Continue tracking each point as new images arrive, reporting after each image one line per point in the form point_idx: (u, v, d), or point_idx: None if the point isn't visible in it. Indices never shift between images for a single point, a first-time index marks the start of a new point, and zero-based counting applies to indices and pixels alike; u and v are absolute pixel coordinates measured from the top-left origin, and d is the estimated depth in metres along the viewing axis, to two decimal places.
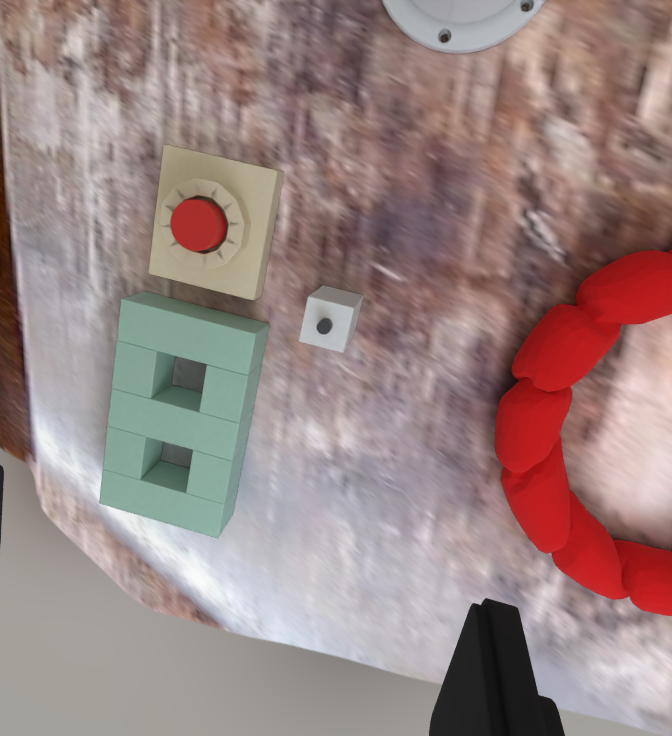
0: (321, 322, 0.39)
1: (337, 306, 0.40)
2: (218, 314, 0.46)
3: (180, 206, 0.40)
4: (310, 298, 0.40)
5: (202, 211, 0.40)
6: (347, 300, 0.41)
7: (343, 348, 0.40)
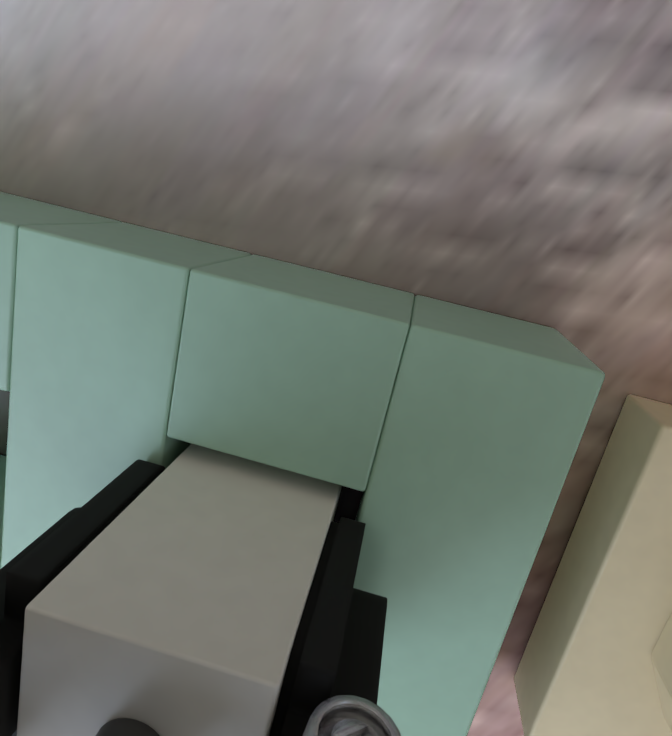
0: None
1: None
2: None
3: None
4: (266, 696, 0.07)
5: None
6: None
7: None
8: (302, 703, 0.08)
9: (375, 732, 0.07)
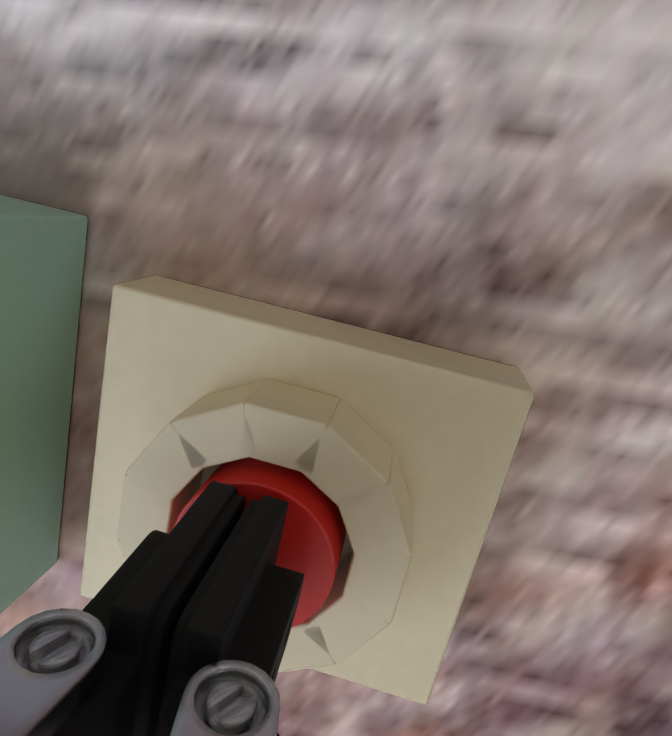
0: None
1: None
2: (40, 469, 0.16)
3: (311, 528, 0.11)
4: None
5: None
6: None
7: None
8: (191, 669, 0.08)
9: (251, 689, 0.07)
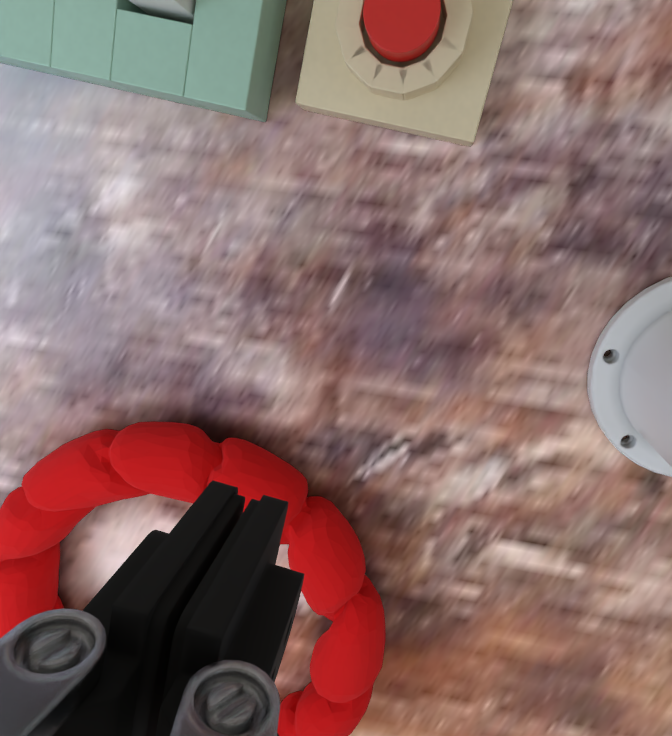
0: None
1: None
2: (273, 40, 0.31)
3: None
4: None
5: (422, 26, 0.26)
6: None
7: None
8: (191, 669, 0.08)
9: (251, 689, 0.07)
